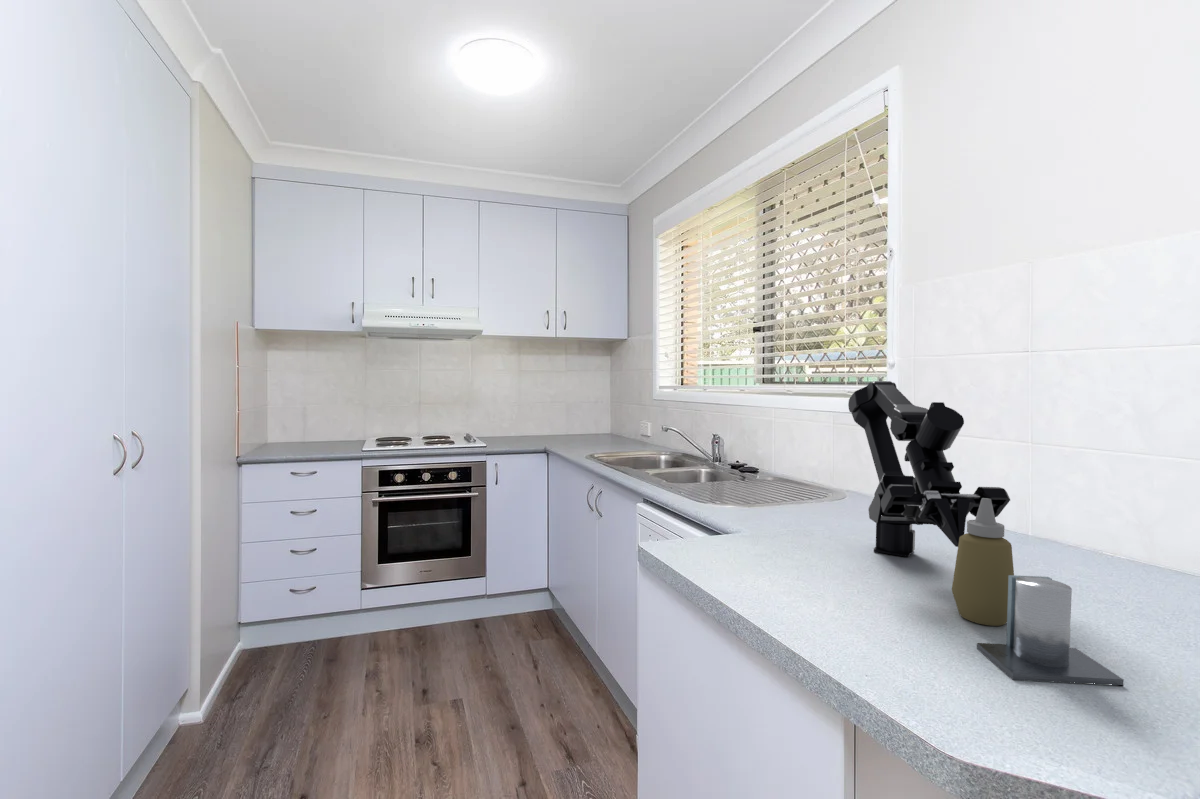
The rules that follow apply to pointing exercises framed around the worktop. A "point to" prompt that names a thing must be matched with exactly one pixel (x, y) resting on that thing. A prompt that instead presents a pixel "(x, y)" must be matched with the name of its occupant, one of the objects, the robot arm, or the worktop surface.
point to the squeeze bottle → (983, 569)
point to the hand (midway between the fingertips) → (959, 545)
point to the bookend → (1043, 636)
